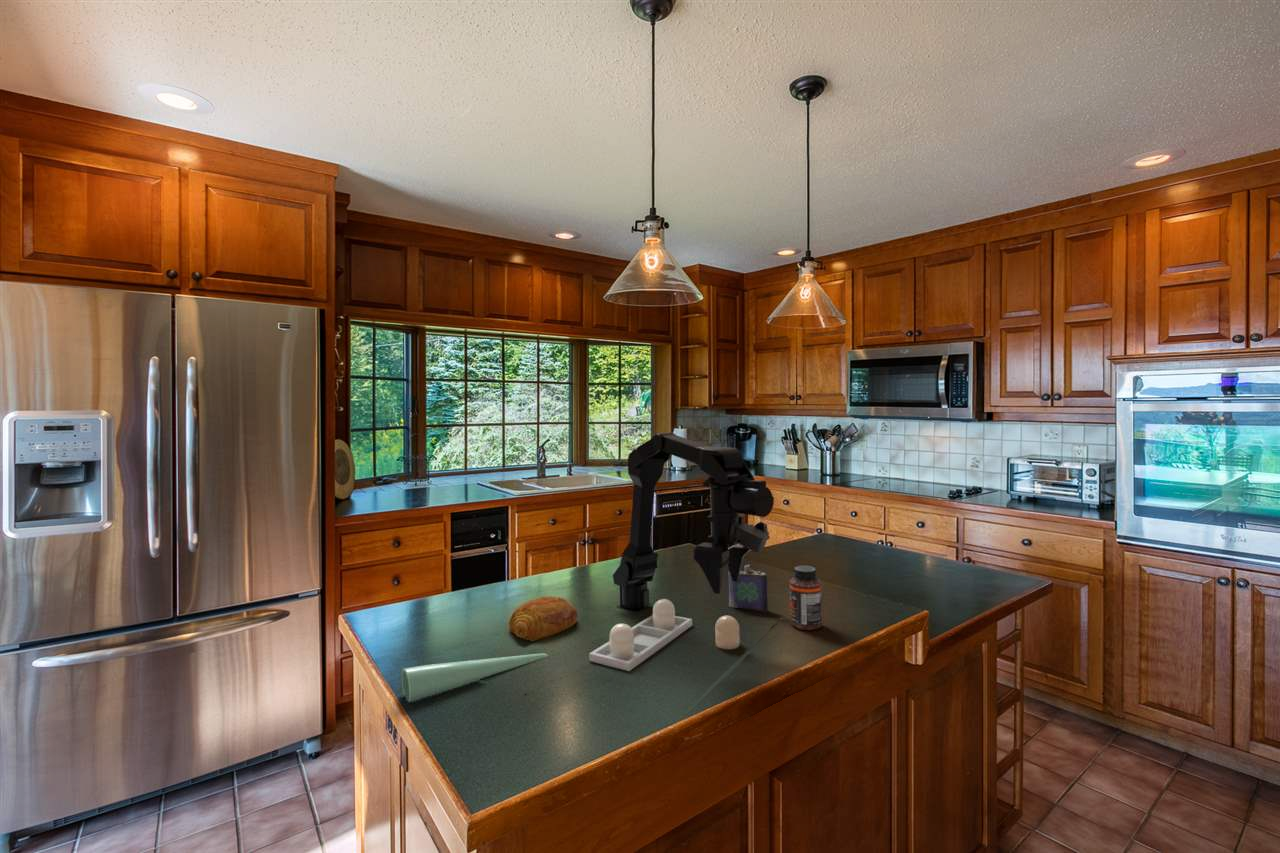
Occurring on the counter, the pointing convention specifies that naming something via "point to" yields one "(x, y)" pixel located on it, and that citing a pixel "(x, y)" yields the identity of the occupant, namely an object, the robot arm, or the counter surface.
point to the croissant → (542, 618)
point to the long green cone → (456, 673)
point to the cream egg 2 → (664, 615)
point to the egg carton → (641, 643)
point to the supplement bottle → (805, 599)
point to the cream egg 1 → (621, 642)
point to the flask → (749, 590)
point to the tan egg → (727, 632)
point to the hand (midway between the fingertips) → (726, 587)
